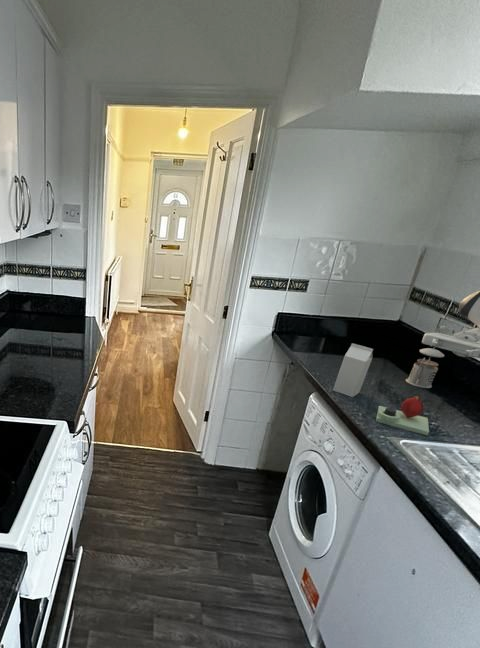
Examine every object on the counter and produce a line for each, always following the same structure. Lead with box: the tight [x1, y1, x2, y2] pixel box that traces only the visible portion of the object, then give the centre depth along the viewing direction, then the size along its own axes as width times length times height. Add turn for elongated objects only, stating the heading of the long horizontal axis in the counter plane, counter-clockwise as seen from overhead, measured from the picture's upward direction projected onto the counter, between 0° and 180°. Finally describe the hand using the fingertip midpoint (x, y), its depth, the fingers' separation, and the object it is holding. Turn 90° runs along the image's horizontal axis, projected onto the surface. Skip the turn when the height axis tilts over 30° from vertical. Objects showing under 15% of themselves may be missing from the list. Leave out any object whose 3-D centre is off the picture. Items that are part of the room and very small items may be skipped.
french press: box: [405, 325, 447, 389], centre depth 164 cm, size 10×12×25 cm
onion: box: [400, 395, 424, 418], centre depth 136 cm, size 6×6×8 cm
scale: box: [375, 405, 430, 436], centre depth 137 cm, size 14×12×3 cm
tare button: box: [384, 407, 397, 416], centre depth 136 cm, size 3×3×2 cm
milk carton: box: [332, 343, 374, 398], centre depth 153 cm, size 7×7×19 cm
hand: (450, 348), depth 135 cm, fingers open, 8 cm apart
